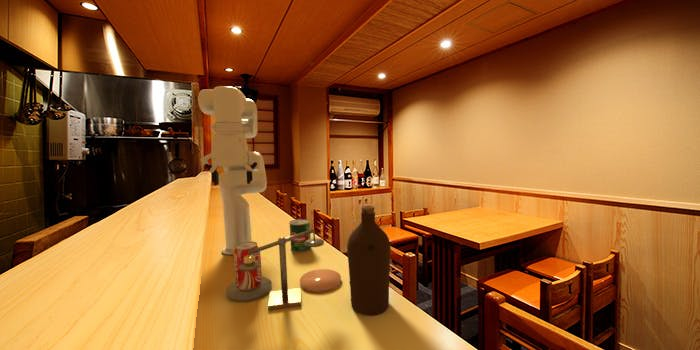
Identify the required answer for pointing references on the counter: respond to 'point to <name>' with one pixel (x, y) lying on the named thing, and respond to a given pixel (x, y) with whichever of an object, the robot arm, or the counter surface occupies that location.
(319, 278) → the dish high
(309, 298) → the counter surface
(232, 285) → the dish low
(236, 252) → the soda can
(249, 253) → the balance
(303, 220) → the canned tomato
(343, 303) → the counter surface
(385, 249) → the olive oil
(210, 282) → the counter surface
